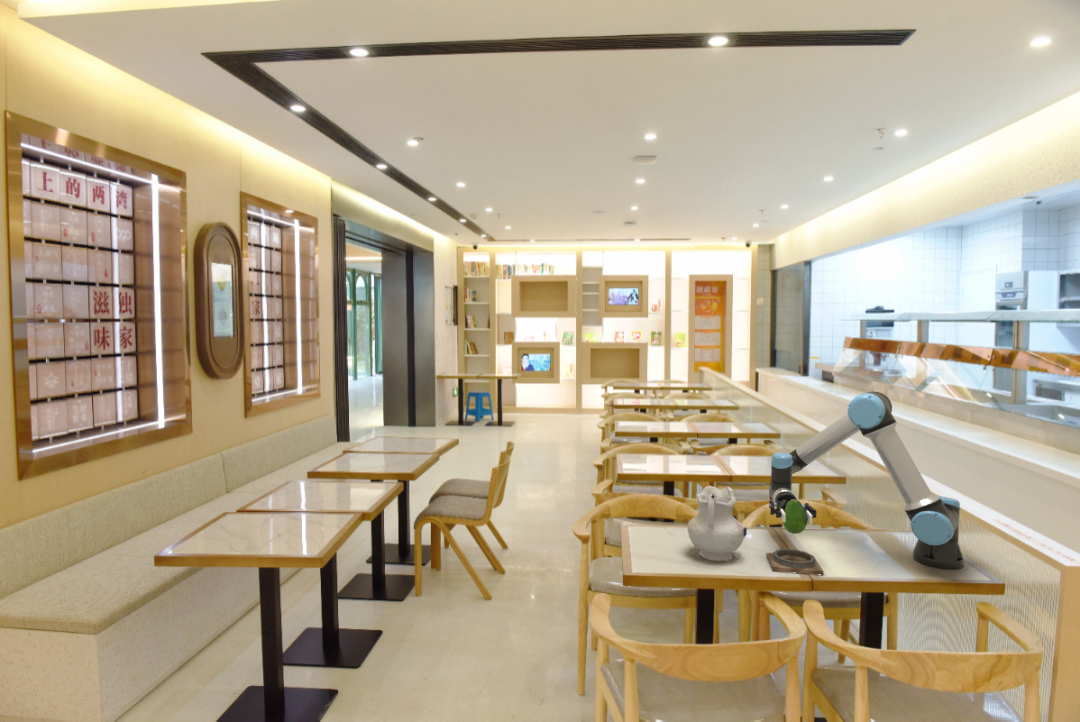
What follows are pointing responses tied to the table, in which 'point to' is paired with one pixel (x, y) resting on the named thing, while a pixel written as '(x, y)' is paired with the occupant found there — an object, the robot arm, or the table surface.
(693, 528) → the ceramic pitcher
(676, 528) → the table surface
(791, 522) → the avocado
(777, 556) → the ring stand
